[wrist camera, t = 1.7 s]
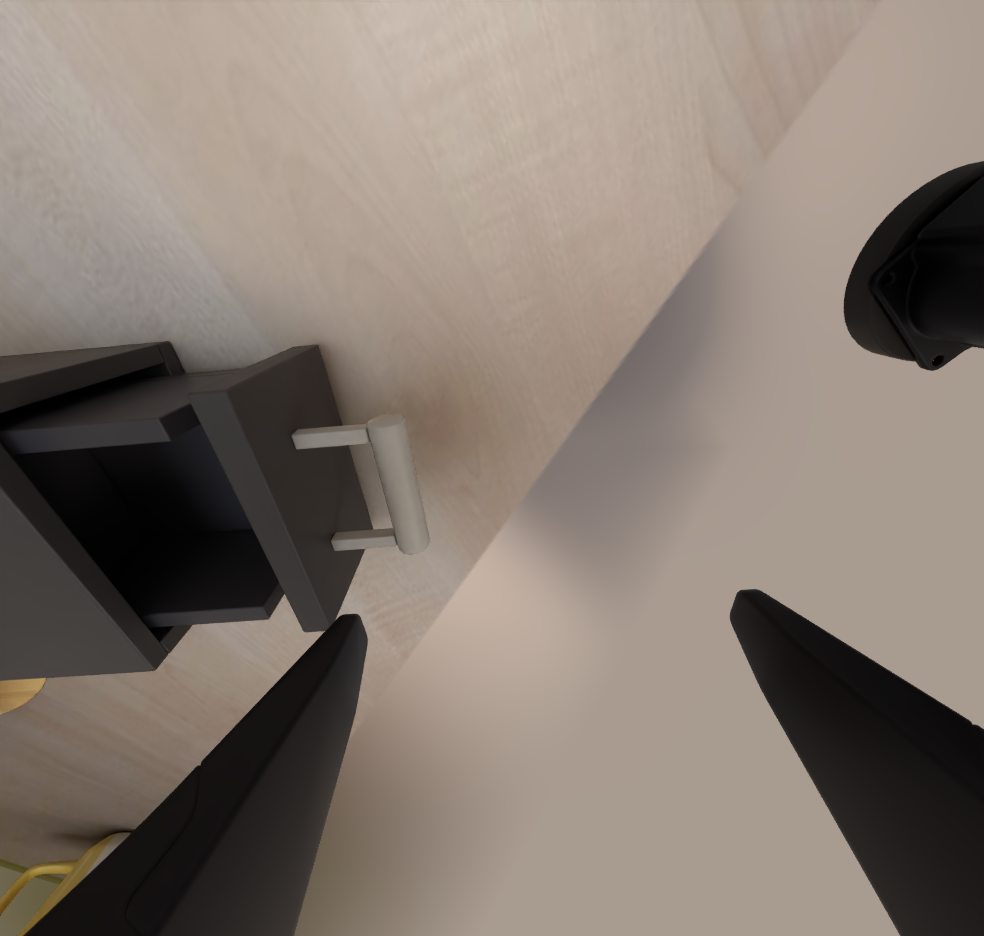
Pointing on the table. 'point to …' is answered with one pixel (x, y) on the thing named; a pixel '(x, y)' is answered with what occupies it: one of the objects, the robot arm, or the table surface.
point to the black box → (66, 541)
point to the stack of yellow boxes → (18, 692)
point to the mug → (73, 868)
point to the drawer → (219, 488)
